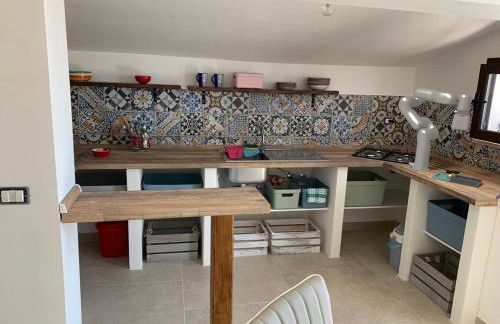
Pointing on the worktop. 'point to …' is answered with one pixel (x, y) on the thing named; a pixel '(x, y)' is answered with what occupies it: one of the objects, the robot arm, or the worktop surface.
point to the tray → (441, 177)
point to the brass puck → (450, 175)
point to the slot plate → (466, 180)
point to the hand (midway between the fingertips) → (458, 139)
